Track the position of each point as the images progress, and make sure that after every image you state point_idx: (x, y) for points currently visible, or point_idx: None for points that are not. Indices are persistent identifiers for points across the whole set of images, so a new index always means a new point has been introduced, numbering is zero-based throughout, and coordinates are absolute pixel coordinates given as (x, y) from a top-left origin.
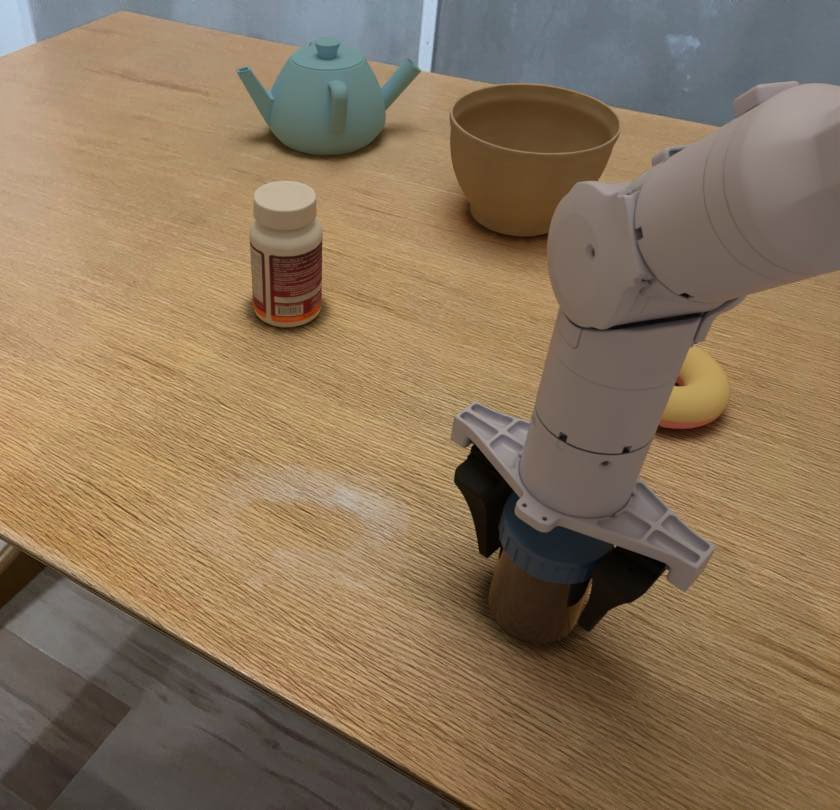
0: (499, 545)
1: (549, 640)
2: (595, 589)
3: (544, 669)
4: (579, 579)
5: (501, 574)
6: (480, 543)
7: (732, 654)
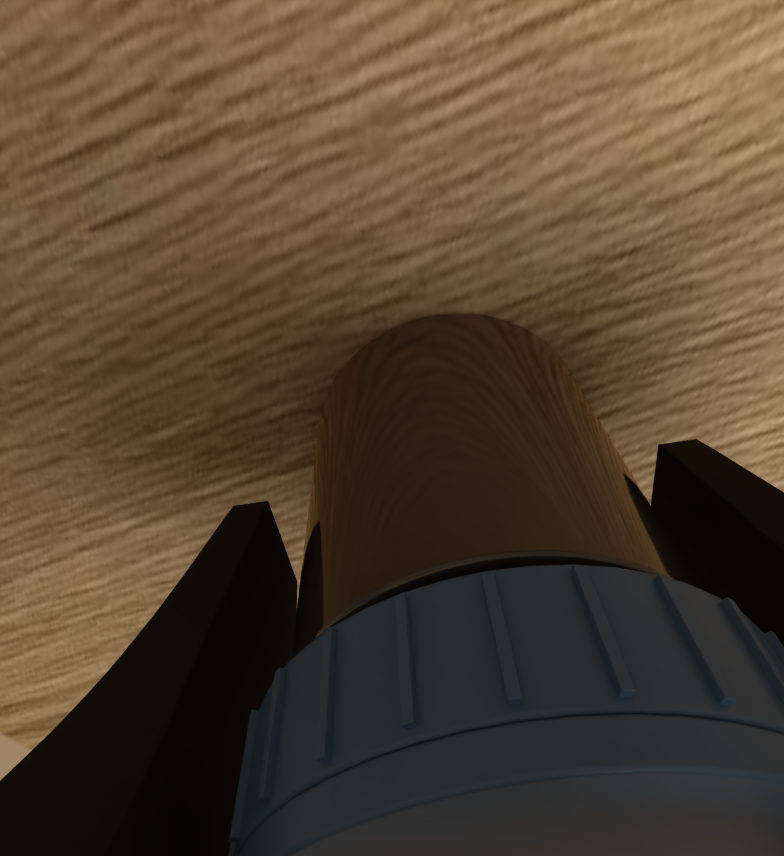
0: (658, 511)
1: (328, 396)
2: (118, 783)
3: (267, 319)
4: (258, 727)
5: (575, 446)
6: (737, 476)
7: (104, 659)
